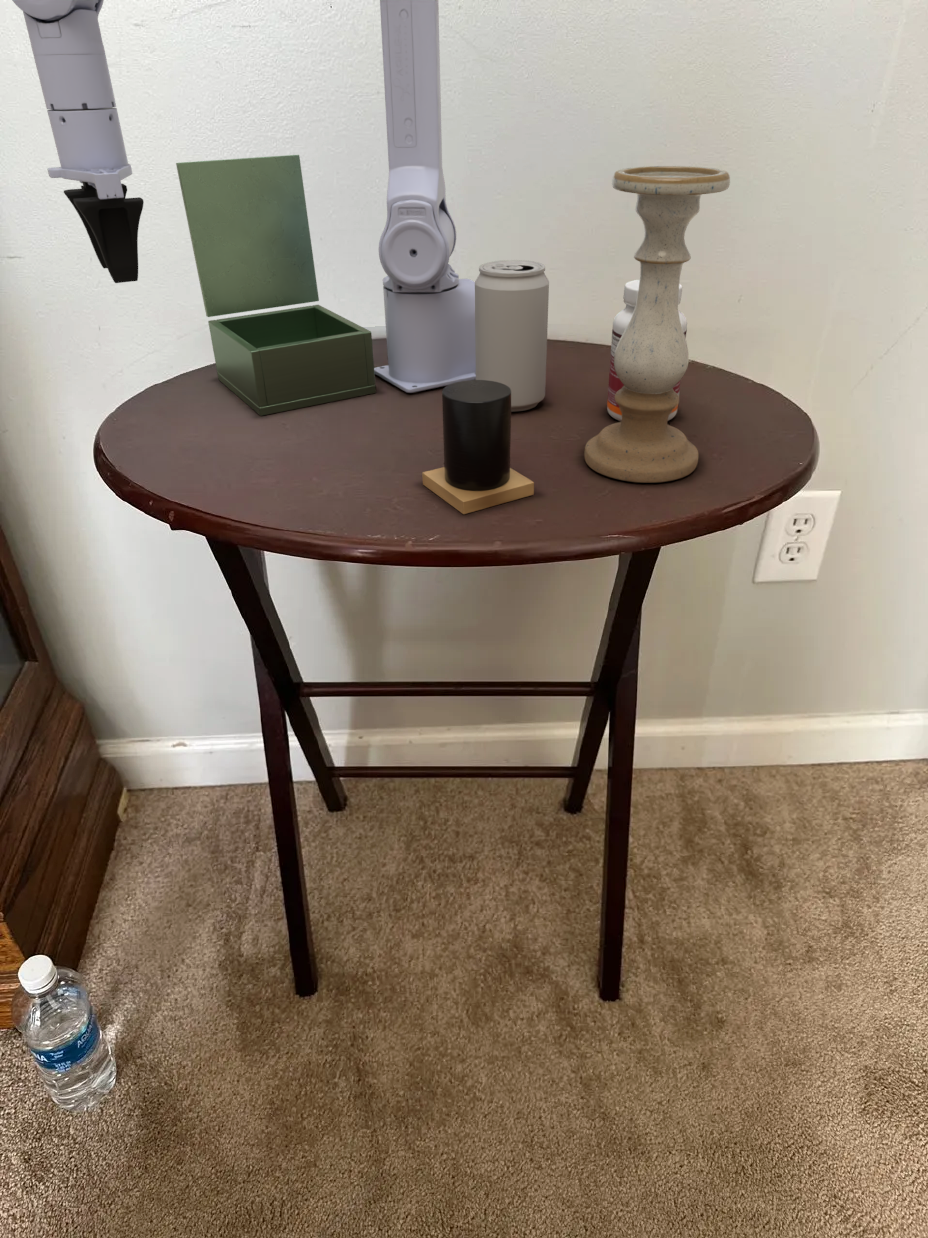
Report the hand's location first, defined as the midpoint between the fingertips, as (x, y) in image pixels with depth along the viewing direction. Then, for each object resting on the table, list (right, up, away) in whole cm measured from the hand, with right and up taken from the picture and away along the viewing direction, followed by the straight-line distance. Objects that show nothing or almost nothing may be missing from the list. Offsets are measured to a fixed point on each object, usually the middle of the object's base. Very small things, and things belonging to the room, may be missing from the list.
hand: (119, 273), depth 81 cm
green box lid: (+13, +3, 0) cm, 13 cm away
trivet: (+34, -24, -19) cm, 46 cm away
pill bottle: (+49, -15, -6) cm, 52 cm away
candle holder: (+47, -21, -15) cm, 54 cm away
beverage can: (+37, -13, -3) cm, 40 cm away
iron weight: (+34, -23, -19) cm, 45 cm away
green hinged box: (+16, -10, +2) cm, 20 cm away
